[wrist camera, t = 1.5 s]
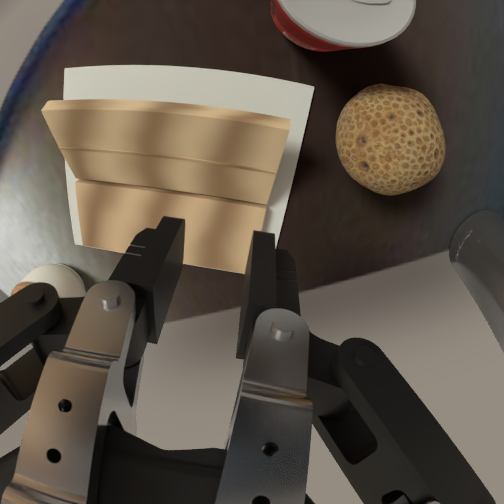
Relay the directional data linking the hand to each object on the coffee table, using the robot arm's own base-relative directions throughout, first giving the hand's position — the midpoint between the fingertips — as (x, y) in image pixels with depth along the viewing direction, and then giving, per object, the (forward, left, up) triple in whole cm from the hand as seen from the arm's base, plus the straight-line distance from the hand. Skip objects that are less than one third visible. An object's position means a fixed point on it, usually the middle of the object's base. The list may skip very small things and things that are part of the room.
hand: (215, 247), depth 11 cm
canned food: (-4, -12, -19) cm, 23 cm away
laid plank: (+7, +11, -19) cm, 23 cm away
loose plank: (+7, +2, -16) cm, 18 cm away
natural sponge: (-11, -3, -19) cm, 22 cm away
